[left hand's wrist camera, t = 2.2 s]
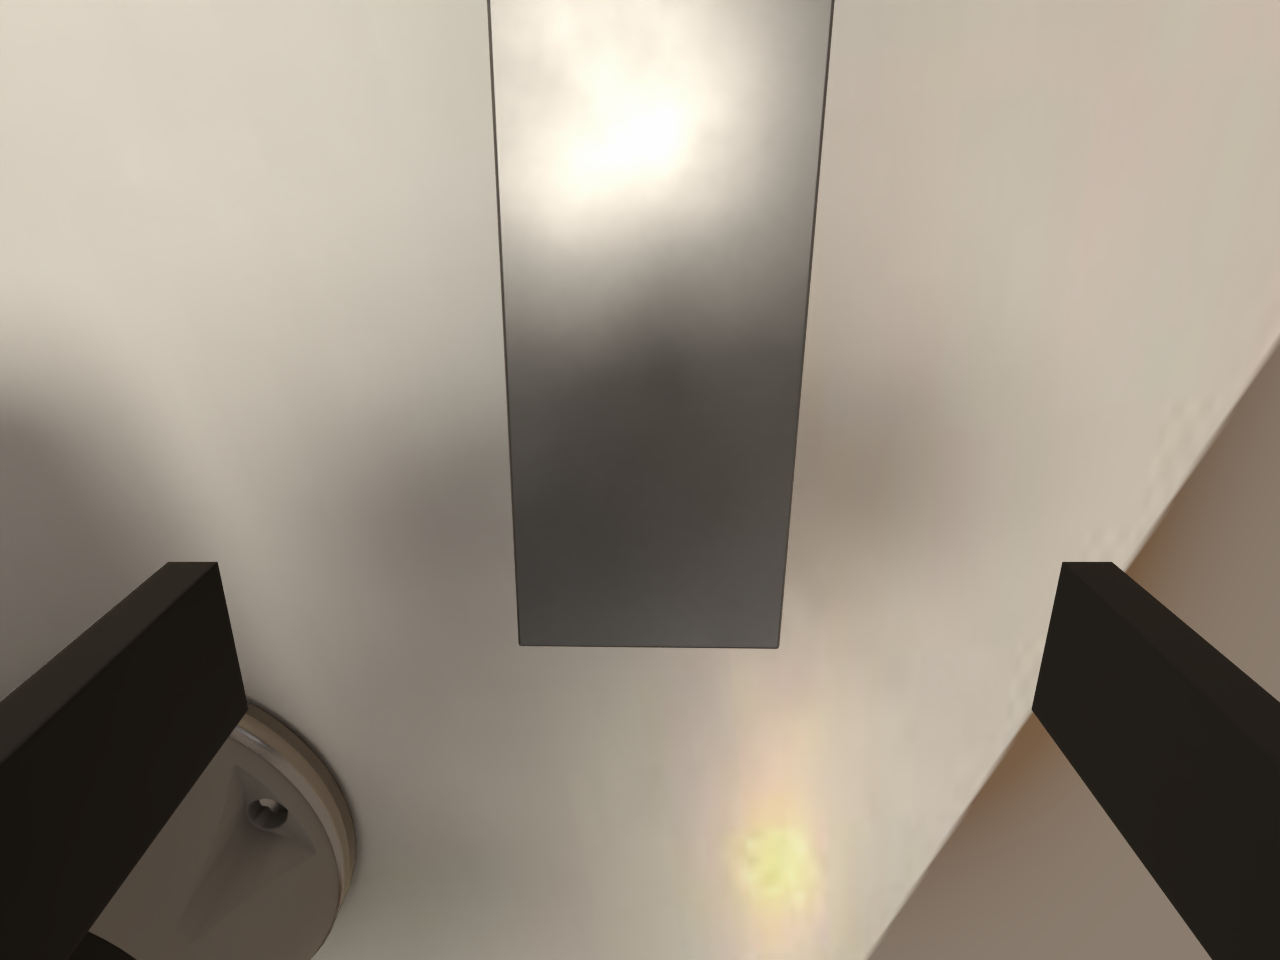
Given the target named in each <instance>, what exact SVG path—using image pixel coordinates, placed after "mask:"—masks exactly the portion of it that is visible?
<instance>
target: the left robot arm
mask: <svg viewBox="0 0 1280 960" xmlns="http://www.w3.org/2000/svg"><path fill="white" fill-rule="evenodd" d="M1032 711H1033V712H1034V714H1035V715H1036V716H1037V718H1038V719H1039V720H1040V722H1041V723H1042V725H1043V726H1044V727H1045V729H1046V730H1047V732H1048V733H1049V734H1050V736H1051V737H1052V738H1053V740H1054V741H1055V743H1056V744H1057V745H1058V747H1059V748H1060V749H1061V751H1062V752H1063V754H1064V755H1065V756H1066V758H1067V759H1068V761H1069V762H1070V763H1071V765H1072V766H1073V767H1074V769H1075V770H1076V772H1077V773H1078V774H1079V776H1080V777H1081V779H1082V780H1083V781H1084V783H1085V784H1086V785H1087V787H1088V788H1089V790H1090V791H1091V792H1092V794H1093V795H1094V797H1095V798H1096V799H1097V801H1098V802H1099V803H1100V805H1101V806H1102V808H1103V809H1104V810H1105V812H1106V813H1107V815H1108V816H1109V817H1110V819H1111V820H1112V821H1113V823H1114V824H1115V826H1116V827H1117V828H1118V830H1119V831H1120V833H1121V834H1122V835H1123V837H1124V838H1125V839H1126V841H1127V842H1128V844H1129V845H1130V846H1131V848H1132V849H1133V851H1134V852H1135V853H1136V855H1137V856H1138V857H1139V859H1140V860H1141V862H1142V863H1143V864H1144V866H1145V867H1146V869H1147V870H1148V871H1149V873H1150V874H1151V875H1152V877H1153V878H1154V880H1155V881H1156V882H1157V884H1158V885H1159V887H1160V888H1161V889H1162V891H1163V892H1164V893H1165V895H1166V896H1167V898H1168V899H1169V900H1170V902H1171V903H1172V905H1173V906H1174V907H1175V909H1176V910H1177V911H1178V913H1179V914H1180V916H1181V917H1182V918H1183V920H1184V921H1185V923H1186V924H1187V925H1188V927H1189V928H1190V929H1191V931H1192V932H1193V934H1194V935H1195V936H1196V938H1197V939H1198V941H1199V942H1200V943H1201V945H1202V946H1203V947H1204V949H1205V950H1206V952H1207V953H1208V954H1209V956H1210V957H1211V959H1212V960H1280V702H1279V701H1277V700H1276V699H1275V698H1274V697H1272V696H1271V695H1270V694H1269V693H1268V692H1267V691H1265V690H1264V689H1263V688H1262V687H1261V686H1259V685H1258V684H1257V683H1256V682H1255V681H1253V680H1252V679H1251V678H1250V677H1249V676H1247V675H1246V674H1245V673H1244V672H1243V671H1241V670H1240V669H1239V668H1238V667H1237V666H1236V665H1234V664H1233V663H1232V662H1231V661H1230V660H1228V659H1227V658H1226V657H1225V656H1224V655H1222V654H1221V653H1220V652H1219V651H1218V650H1216V649H1215V648H1214V647H1213V646H1212V645H1210V644H1209V643H1208V642H1207V641H1206V640H1204V639H1203V638H1202V637H1201V636H1200V635H1198V634H1197V633H1196V632H1195V631H1194V630H1192V629H1191V628H1190V627H1189V626H1188V625H1186V624H1185V623H1184V622H1183V621H1182V620H1181V619H1179V618H1178V617H1177V616H1176V615H1175V614H1173V613H1172V612H1171V611H1170V610H1169V609H1167V608H1166V607H1165V606H1164V605H1163V604H1161V603H1160V602H1159V601H1158V600H1156V599H1155V598H1154V597H1153V596H1152V595H1151V594H1149V593H1148V592H1147V591H1146V590H1145V589H1143V588H1142V587H1141V586H1140V585H1139V584H1138V583H1136V582H1135V581H1134V580H1133V579H1132V578H1130V577H1129V576H1128V575H1127V574H1126V573H1124V572H1123V571H1122V570H1121V569H1120V568H1118V567H1117V566H1116V565H1115V564H1114V563H1112V562H1062V567H1061V572H1060V576H1059V581H1058V586H1057V591H1056V596H1055V600H1054V605H1053V610H1052V615H1051V619H1050V624H1049V629H1048V634H1047V638H1046V643H1045V648H1044V653H1043V658H1042V662H1041V667H1040V672H1039V677H1038V681H1037V686H1036V691H1035V696H1034V701H1033V705H1032ZM355 858H356V841H355V833H354V827H353V823H352V819H351V815H350V812H349V809H348V806H347V804H346V801H345V799H344V797H343V795H342V793H341V791H340V789H339V787H338V785H337V783H336V782H335V780H334V779H333V777H332V775H331V774H330V772H329V771H328V769H327V768H326V767H325V766H324V764H323V763H322V762H321V760H320V759H319V758H318V757H317V755H316V754H315V753H314V752H313V751H312V750H311V749H310V748H309V747H308V746H307V745H306V744H305V743H304V742H303V741H302V740H301V739H300V738H299V737H297V736H296V735H295V734H294V733H293V732H292V731H291V730H290V729H288V728H287V727H286V726H284V725H283V724H282V723H280V722H279V721H277V720H276V719H275V718H273V717H272V716H270V715H269V714H267V713H266V712H264V711H262V710H261V709H259V708H258V707H256V706H254V705H252V704H250V703H248V702H247V701H246V696H245V691H244V686H243V681H242V677H241V672H240V667H239V662H238V658H237V653H236V648H235V643H234V638H233V634H232V629H231V624H230V619H229V615H228V610H227V605H226V600H225V596H224V591H223V586H222V581H221V576H220V572H219V567H218V562H168V563H166V564H165V565H164V566H163V567H162V568H160V569H159V570H158V571H157V572H156V573H154V574H153V575H152V576H151V577H150V578H148V579H147V580H146V581H145V582H144V583H142V584H141V585H140V586H139V587H138V588H137V589H135V590H134V591H133V592H132V593H131V594H129V595H128V596H127V597H126V598H125V599H123V600H122V601H121V602H120V603H119V604H117V605H116V606H115V607H114V608H113V609H111V610H110V611H109V612H108V613H107V614H105V615H104V616H103V617H102V618H101V619H99V620H98V621H97V622H96V623H95V624H93V625H92V626H91V627H90V628H89V629H87V630H86V631H85V632H84V633H83V634H82V635H80V636H79V637H78V638H77V639H76V640H74V641H73V642H72V643H71V644H70V645H68V646H67V647H66V648H65V649H64V650H62V651H61V652H60V653H59V654H58V655H56V656H55V657H54V658H53V659H52V660H50V661H49V662H48V663H47V664H46V665H44V666H43V667H42V668H41V669H40V670H38V671H37V672H36V673H35V674H34V675H32V676H31V677H30V678H29V679H28V680H27V681H25V682H24V683H23V684H22V685H21V686H19V687H18V688H17V689H16V690H15V691H13V692H12V693H11V694H10V695H9V696H7V697H6V698H5V699H4V700H3V701H1V702H0V960H310V959H311V958H312V957H313V956H314V955H315V954H316V952H317V951H318V950H319V949H320V947H321V946H322V945H323V943H324V942H325V940H326V938H327V937H328V935H329V933H330V931H331V929H332V927H333V924H334V922H335V919H336V917H337V915H338V912H339V910H340V907H341V905H342V902H343V900H344V897H345V895H346V892H347V890H348V887H349V885H350V882H351V879H352V875H353V871H354V865H355Z"/></svg>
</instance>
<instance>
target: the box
mask: <svg viewBox="0 0 1280 960" xmlns="http://www.w3.org/2000/svg"><path fill="white" fill-rule="evenodd" d="M834 1H835V0H487V10H488V30H489V51H490V71H491V91H492V112H493V132H494V152H495V173H496V193H497V213H498V234H499V254H500V274H501V295H502V315H503V335H504V356H505V376H506V396H507V417H508V437H509V457H510V478H511V498H512V518H513V539H514V559H515V579H516V600H517V620H518V640H519V645H520V646H574V647H666V648H758V649H777V648H778V647H779V642H780V631H781V619H782V607H783V596H784V584H785V572H786V561H787V549H788V537H789V526H790V514H791V502H792V491H793V479H794V467H795V456H796V444H797V432H798V421H799V409H800V397H801V386H802V374H803V362H804V351H805V339H806V327H807V316H808V304H809V292H810V281H811V269H812V257H813V246H814V234H815V222H816V211H817V199H818V187H819V176H820V164H821V152H822V141H823V129H824V117H825V106H826V94H827V82H828V71H829V59H830V47H831V36H832V24H833V12H834Z"/></svg>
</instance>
